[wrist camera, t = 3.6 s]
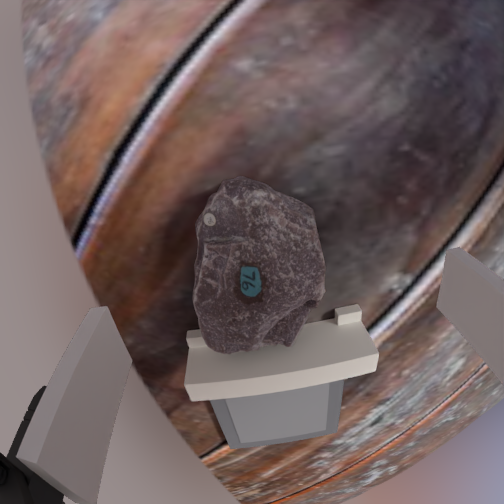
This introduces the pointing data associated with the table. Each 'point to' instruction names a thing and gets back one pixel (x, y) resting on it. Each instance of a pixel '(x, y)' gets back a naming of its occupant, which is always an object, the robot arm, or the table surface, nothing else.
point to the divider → (283, 360)
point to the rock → (255, 267)
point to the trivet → (280, 415)
